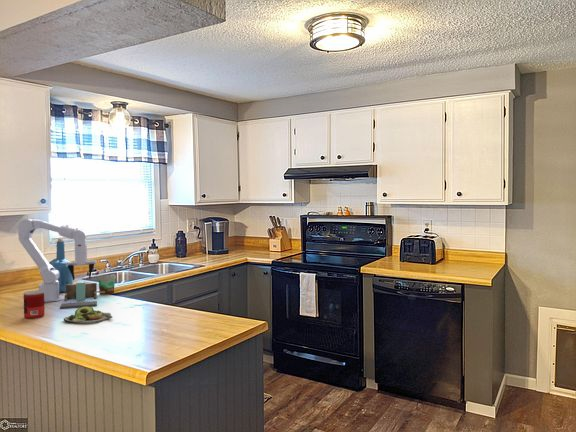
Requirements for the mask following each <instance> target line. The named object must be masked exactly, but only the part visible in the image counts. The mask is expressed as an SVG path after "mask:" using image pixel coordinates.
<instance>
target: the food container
mask: <svg viewBox="0 0 576 432" xmlns="http://www.w3.org/2000/svg"><path fill="white" fill-rule="evenodd" d="M116 279H117V276H116V274H115V273H110V274H108V275H104V276H98V277H97V281H98V289H99V290H98V291H99V292H98V293H99V295H111V294H113V293H114V294H115V282H116V281H115V280H116Z"/></svg>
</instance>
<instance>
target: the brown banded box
mask: <svg viewBox="0 0 576 432" xmlns="http://www.w3.org/2000/svg"><path fill="white" fill-rule="evenodd" d="M97 286H98V284H97V282H89V283H88V282H87V283H86V282H85V296H86V297H85V298H91V296H92V297H94V300H97V297H98V295H97V293H98V287H97ZM64 293H65V294H64V302H67V301H68V299H73V298H72V297H76V283H74V284H68V285H66V292H64Z"/></svg>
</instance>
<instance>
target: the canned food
mask: <svg viewBox="0 0 576 432" xmlns="http://www.w3.org/2000/svg"><path fill="white" fill-rule="evenodd" d="M23 316H24V319H26V320H33V319H39V318H43V317H44V316H45V302H44V291H42V290H39V289H38V290H29V291H25V292H23Z"/></svg>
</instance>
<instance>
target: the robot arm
mask: <svg viewBox="0 0 576 432" xmlns="http://www.w3.org/2000/svg"><path fill="white" fill-rule="evenodd" d="M39 229H44V230H46V231H50V232H55V233H58V235H59V236H60V237H63V238H67V239H71V240H74V261H70V262H66V266H68V268H69V270H70V272H71V274H72V277H73V280H74V281H75V280H76V279H75V266H87V265H88V279H89V280H91V278H92V272H93V269H94V266H95V265H97V260H88V249H87V238H88V233H87V232H86V231H85V230H83V229H79V228H77V227H72V226H70V224H63V225H61V226H60V225H57V224H55V223H54V224H53V223H51V222H47V221H44V220H41V219H34V218H23V219H21V220H20V221H19V223H18V225H17V231H18V232H17V233H18V242H19V243H20V244H21V246H22V247H23V249H25V251H26V252H27V254H28V255H29V256H30V258H31V260H32V261H33V262H34V263H35V265H36V267H37V268H38V269H39V274H40V275H41V280H42V281H43V283H39V284H38V290H42V291H44V303H45V302H46V303H47V302H57V301H58V302H59V301H60V300H61V296H60V293H59V281H58V279H59V277H60V273H59V271H58V270H56V269H55V268H54V267H53V266H52V265H50V264H49V261H48V259H46V257H45V256H44V254H43V253H42V252H41V250H40V249H39V247H38V245H36V243H35V241H34V240H33V239H32V236H33V235H34V232H35V231H36V230H39Z"/></svg>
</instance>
